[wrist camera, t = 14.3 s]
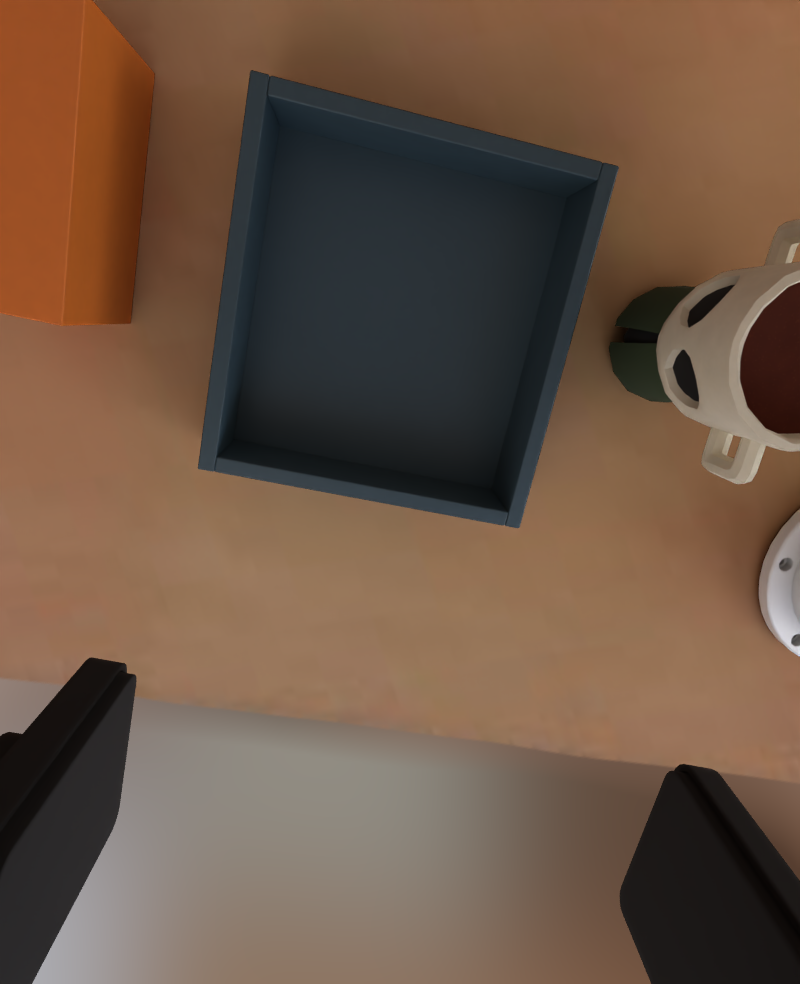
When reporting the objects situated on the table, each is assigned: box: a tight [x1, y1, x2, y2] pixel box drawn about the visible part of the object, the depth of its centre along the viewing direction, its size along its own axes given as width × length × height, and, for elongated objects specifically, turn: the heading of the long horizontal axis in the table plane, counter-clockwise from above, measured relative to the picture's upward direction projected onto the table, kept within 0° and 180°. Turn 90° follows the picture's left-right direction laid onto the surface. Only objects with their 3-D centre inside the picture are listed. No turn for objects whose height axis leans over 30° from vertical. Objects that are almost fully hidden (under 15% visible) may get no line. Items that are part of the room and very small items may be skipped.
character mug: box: [609, 219, 800, 484], centre depth 29 cm, size 11×7×13 cm, turn 169°
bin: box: [198, 70, 619, 528], centre depth 32 cm, size 17×18×5 cm
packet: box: [0, 0, 155, 326], centre depth 28 cm, size 4×12×8 cm, turn 168°
